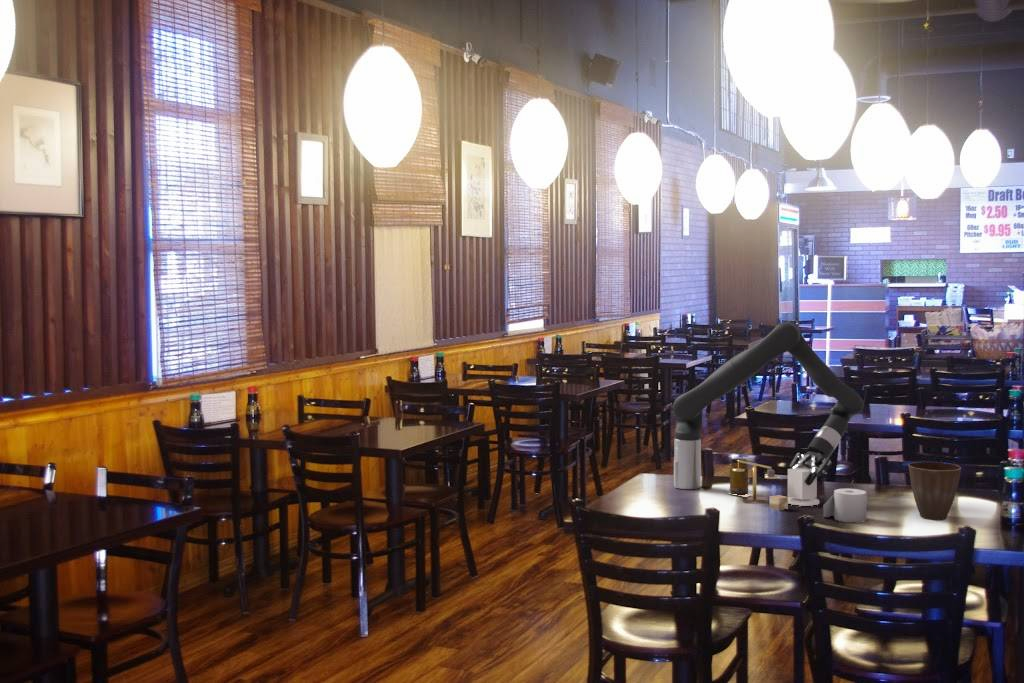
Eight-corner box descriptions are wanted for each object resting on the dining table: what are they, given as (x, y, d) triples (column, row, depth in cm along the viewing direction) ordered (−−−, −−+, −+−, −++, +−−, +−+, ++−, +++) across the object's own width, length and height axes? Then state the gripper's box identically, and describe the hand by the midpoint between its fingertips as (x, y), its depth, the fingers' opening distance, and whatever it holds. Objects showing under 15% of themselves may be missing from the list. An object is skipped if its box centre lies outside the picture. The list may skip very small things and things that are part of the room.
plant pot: (968, 517, 317) (969, 465, 316) (947, 525, 307) (948, 472, 306) (920, 509, 328) (921, 459, 327) (899, 517, 318) (899, 465, 317)
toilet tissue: (817, 517, 319) (817, 489, 318) (857, 515, 321) (857, 488, 321) (830, 524, 310) (831, 495, 310) (872, 522, 312) (872, 493, 312)
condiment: (737, 491, 360) (737, 457, 359) (757, 495, 353) (757, 460, 352) (724, 494, 355) (724, 459, 354) (744, 498, 348) (744, 462, 348)
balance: (733, 502, 341) (733, 461, 340) (731, 499, 346) (731, 458, 345) (778, 503, 340) (778, 461, 339) (775, 499, 345) (775, 458, 344)
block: (778, 511, 329) (778, 498, 328) (769, 508, 332) (769, 496, 332) (787, 509, 331) (787, 497, 330) (778, 507, 334) (778, 494, 334)
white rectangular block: (802, 499, 335) (802, 472, 334) (787, 496, 341) (787, 469, 340) (816, 497, 338) (816, 470, 338) (801, 494, 344) (802, 467, 343)
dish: (787, 506, 334) (787, 502, 334) (781, 499, 345) (781, 495, 345) (822, 506, 334) (822, 502, 333) (815, 499, 344) (815, 495, 344)
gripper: (802, 433, 348) (776, 471, 343) (835, 438, 336) (809, 478, 331) (813, 447, 351) (788, 485, 346) (846, 453, 339) (820, 492, 334)
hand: (798, 481), depth 338 cm, fingers open, 7 cm apart
